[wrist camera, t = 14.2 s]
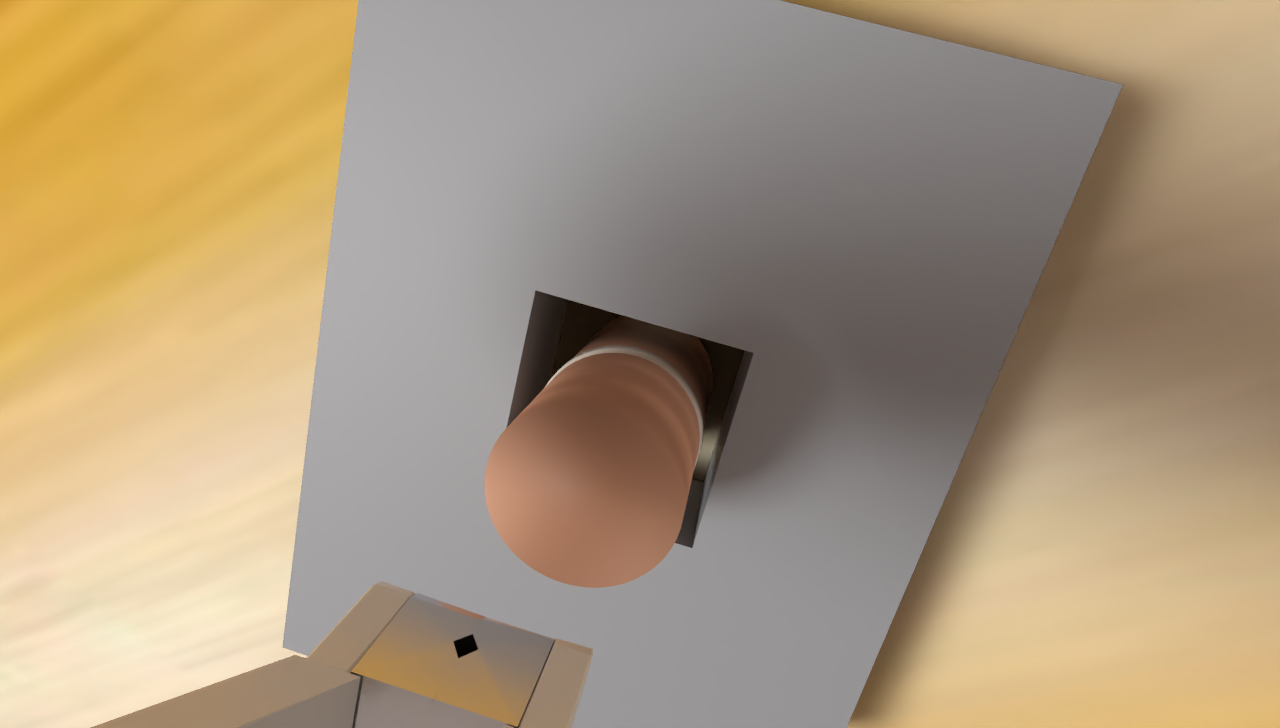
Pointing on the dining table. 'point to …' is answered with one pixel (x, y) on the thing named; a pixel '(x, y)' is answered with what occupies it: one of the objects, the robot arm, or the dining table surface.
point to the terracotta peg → (604, 457)
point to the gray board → (676, 316)
